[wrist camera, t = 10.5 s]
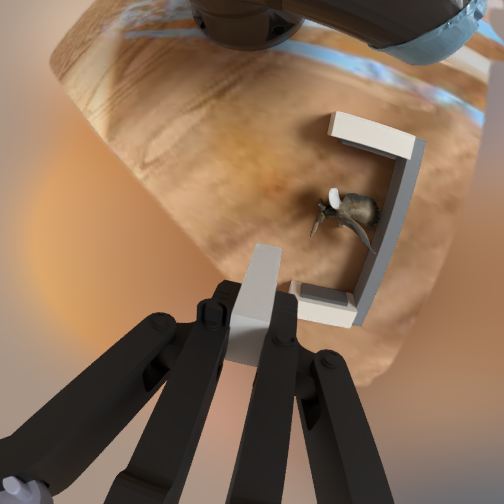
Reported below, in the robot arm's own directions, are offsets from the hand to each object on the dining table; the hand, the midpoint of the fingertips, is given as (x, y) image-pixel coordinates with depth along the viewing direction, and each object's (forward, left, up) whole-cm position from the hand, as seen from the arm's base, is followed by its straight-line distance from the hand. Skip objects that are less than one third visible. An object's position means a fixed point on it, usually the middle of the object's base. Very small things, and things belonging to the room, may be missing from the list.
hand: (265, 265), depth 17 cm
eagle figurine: (+2, +9, -24) cm, 25 cm away
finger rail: (+3, +9, -24) cm, 25 cm away
